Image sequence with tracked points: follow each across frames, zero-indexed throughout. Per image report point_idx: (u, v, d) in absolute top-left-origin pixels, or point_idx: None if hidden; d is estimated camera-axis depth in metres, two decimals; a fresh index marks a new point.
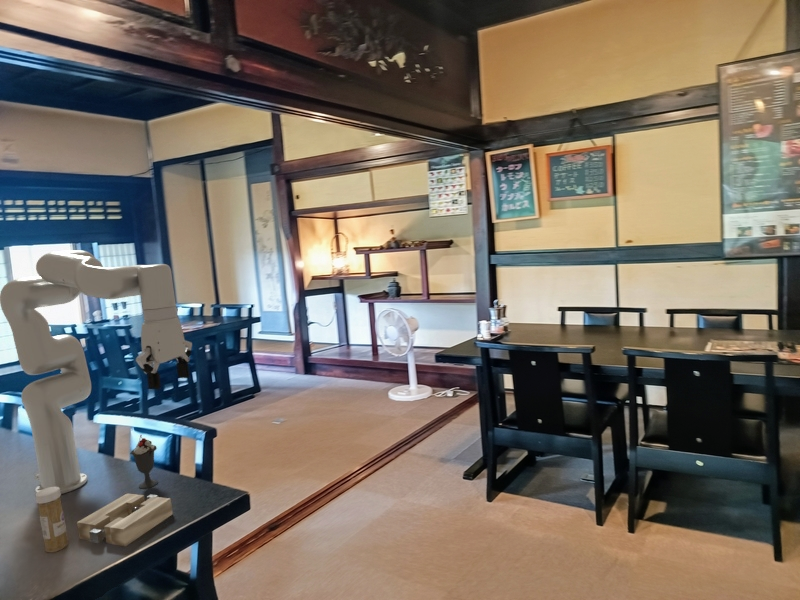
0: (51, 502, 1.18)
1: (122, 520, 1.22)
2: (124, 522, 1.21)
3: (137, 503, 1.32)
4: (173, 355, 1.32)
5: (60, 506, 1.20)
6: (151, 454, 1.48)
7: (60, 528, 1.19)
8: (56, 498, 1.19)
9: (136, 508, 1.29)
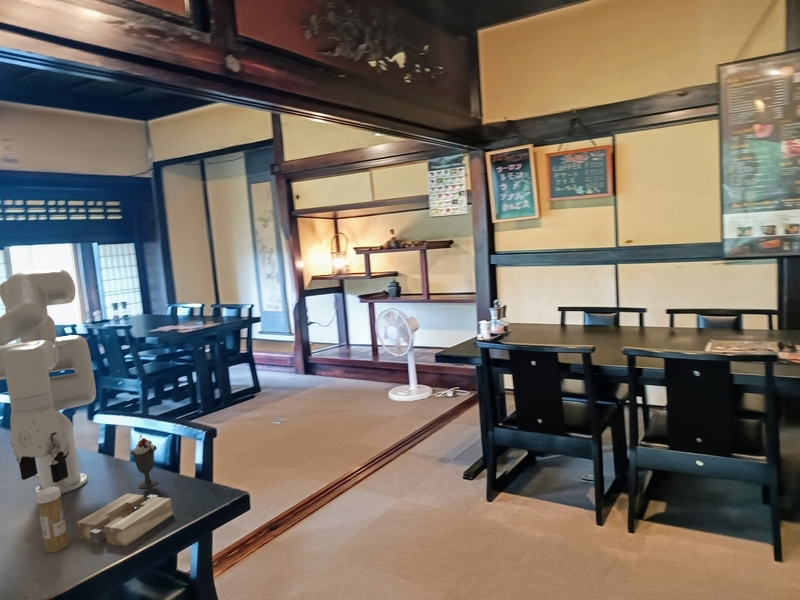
0: (51, 502, 1.18)
1: (122, 520, 1.22)
2: (124, 522, 1.21)
3: (137, 503, 1.32)
4: None
5: (60, 506, 1.20)
6: (151, 454, 1.48)
7: (60, 528, 1.19)
8: (56, 498, 1.19)
9: (136, 508, 1.29)
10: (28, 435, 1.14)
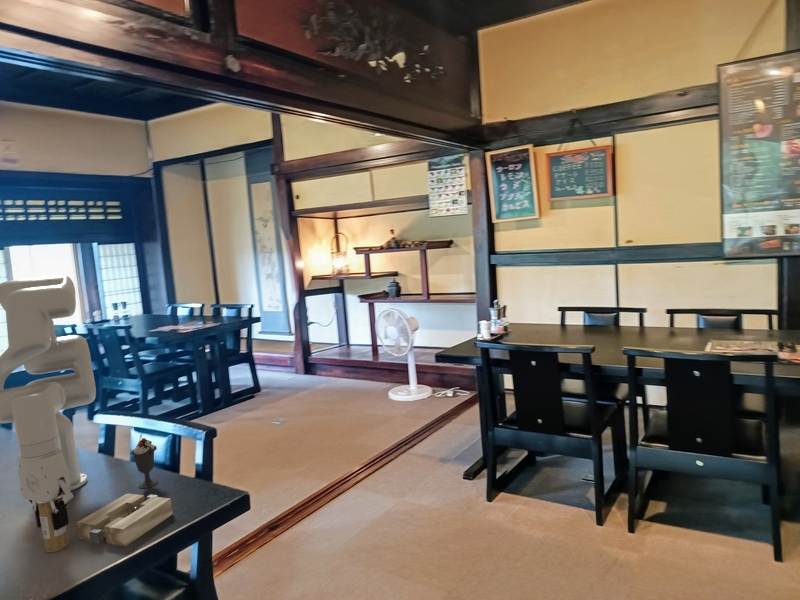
0: None
1: (122, 520, 1.22)
2: (124, 522, 1.21)
3: (137, 503, 1.32)
4: None
5: None
6: (151, 454, 1.48)
7: (60, 528, 1.19)
8: None
9: (136, 508, 1.29)
10: (36, 480, 1.15)
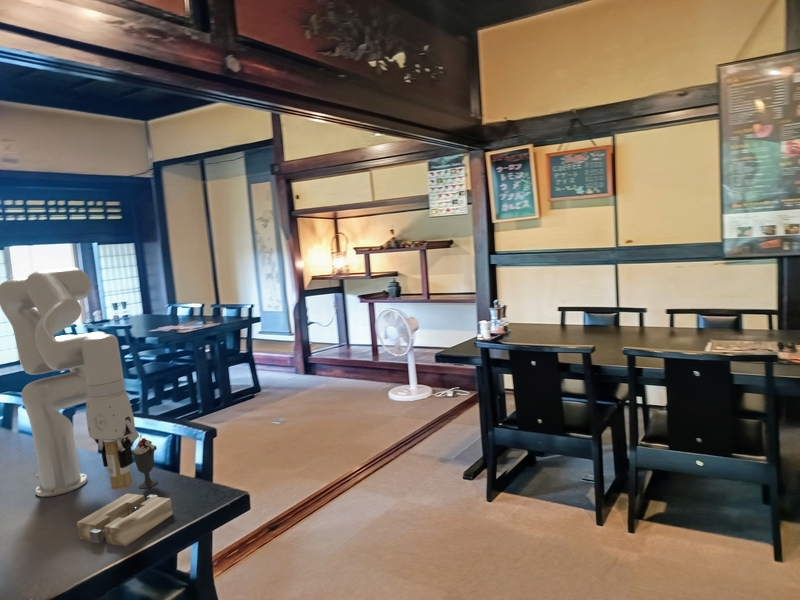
0: None
1: (122, 520, 1.22)
2: (124, 522, 1.21)
3: (137, 503, 1.32)
4: None
5: None
6: (151, 454, 1.48)
7: (125, 467, 1.25)
8: None
9: (136, 508, 1.29)
10: (104, 419, 1.21)
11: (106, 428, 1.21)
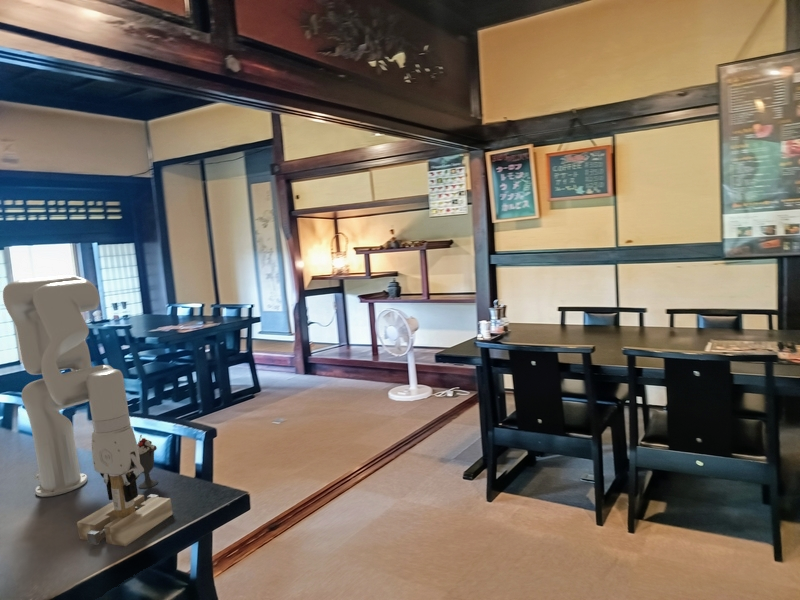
0: None
1: (122, 520, 1.22)
2: (124, 522, 1.21)
3: (137, 503, 1.32)
4: None
5: None
6: (151, 454, 1.48)
7: None
8: None
9: (137, 508, 1.30)
10: (110, 454, 1.22)
11: (111, 463, 1.22)
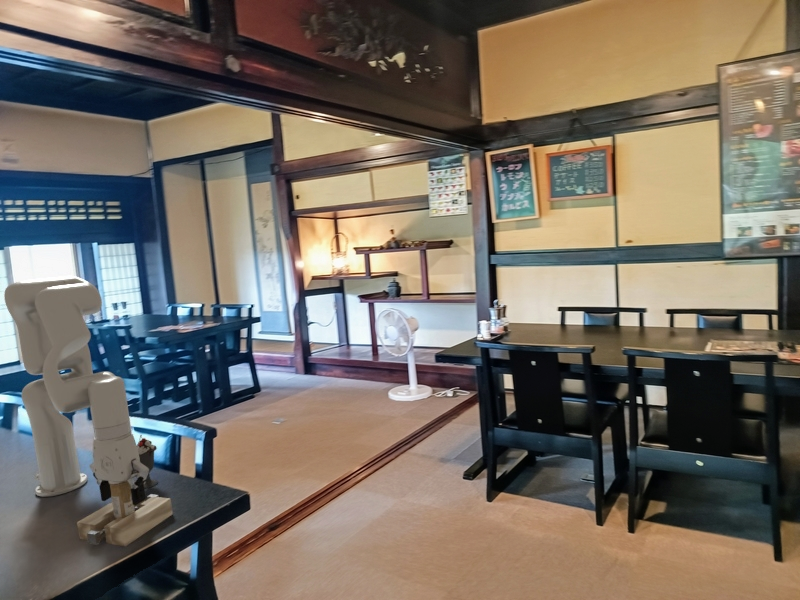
0: (122, 483, 1.25)
1: (122, 520, 1.22)
2: (124, 522, 1.21)
3: None
4: None
5: (130, 487, 1.27)
6: (151, 454, 1.48)
7: (130, 507, 1.26)
8: None
9: (137, 508, 1.30)
10: (111, 461, 1.22)
11: (112, 470, 1.23)
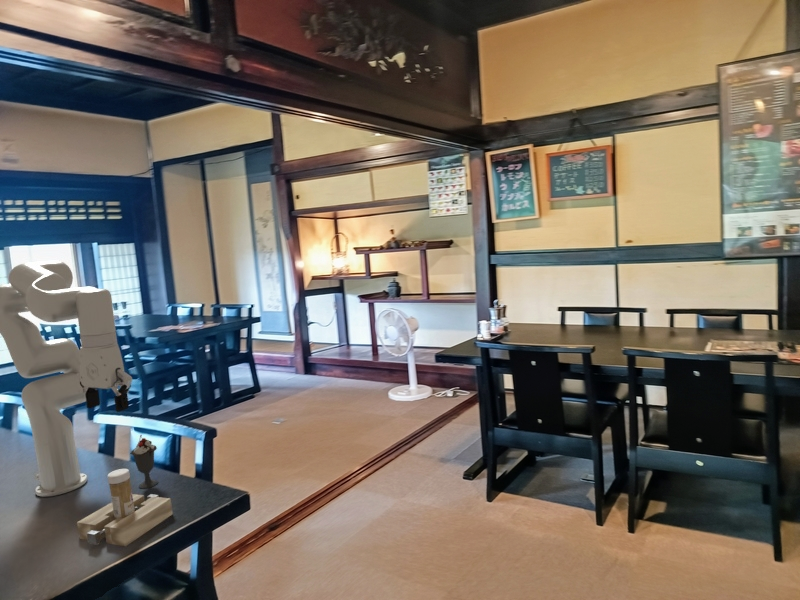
0: (122, 483, 1.25)
1: (122, 520, 1.22)
2: (124, 522, 1.21)
3: (137, 503, 1.32)
4: None
5: (130, 487, 1.27)
6: (151, 454, 1.48)
7: (130, 507, 1.26)
8: (127, 479, 1.26)
9: (137, 508, 1.30)
10: (96, 368, 1.28)
11: (97, 377, 1.28)
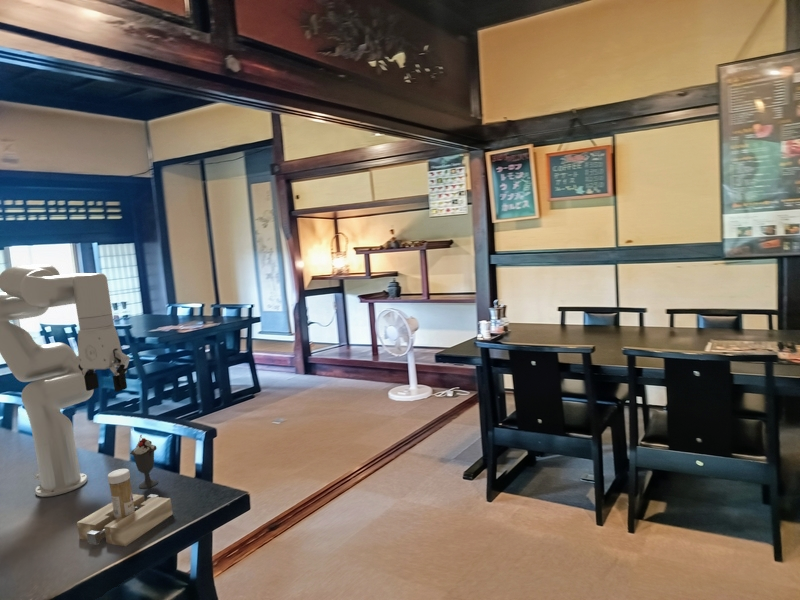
0: (122, 483, 1.25)
1: (122, 520, 1.22)
2: (124, 522, 1.21)
3: (137, 503, 1.32)
4: None
5: (130, 487, 1.27)
6: (151, 454, 1.48)
7: (130, 507, 1.26)
8: (127, 479, 1.25)
9: (137, 508, 1.30)
10: (94, 349, 1.32)
11: (96, 358, 1.32)
